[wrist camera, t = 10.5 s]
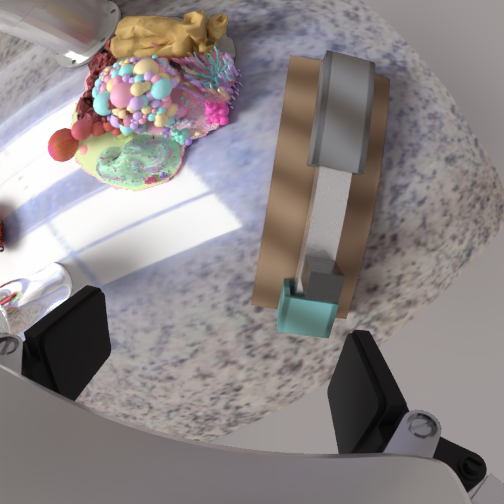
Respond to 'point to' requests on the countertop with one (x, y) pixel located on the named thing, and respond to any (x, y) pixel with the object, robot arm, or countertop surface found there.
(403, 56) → the countertop surface
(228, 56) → the candy landscape model
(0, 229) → the dragon fruit
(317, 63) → the tube rig
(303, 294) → the inner tube
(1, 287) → the beer glass
